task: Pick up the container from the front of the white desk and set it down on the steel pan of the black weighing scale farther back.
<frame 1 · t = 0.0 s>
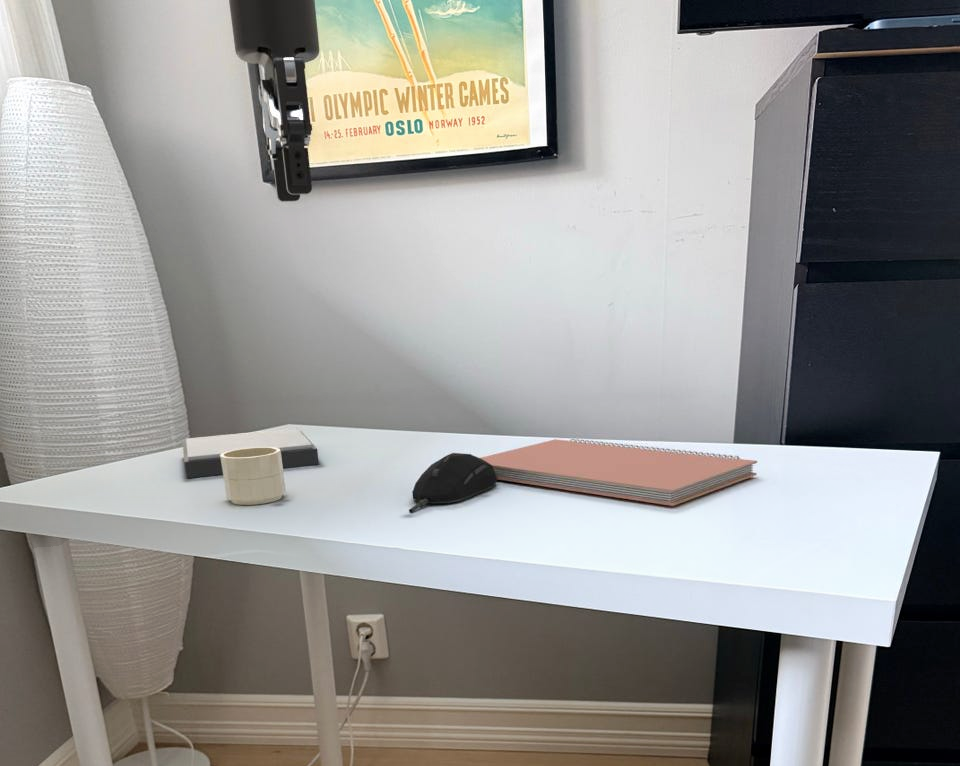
hand: (294, 197, 88), 29 cm above the table, tool pointing down, fingers open, 8 cm apart
notebook: (608, 477, 101), on the table
gaming mouse: (448, 497, 96), on the table
scale: (249, 460, 121), on the table
container: (256, 499, 99), on the table
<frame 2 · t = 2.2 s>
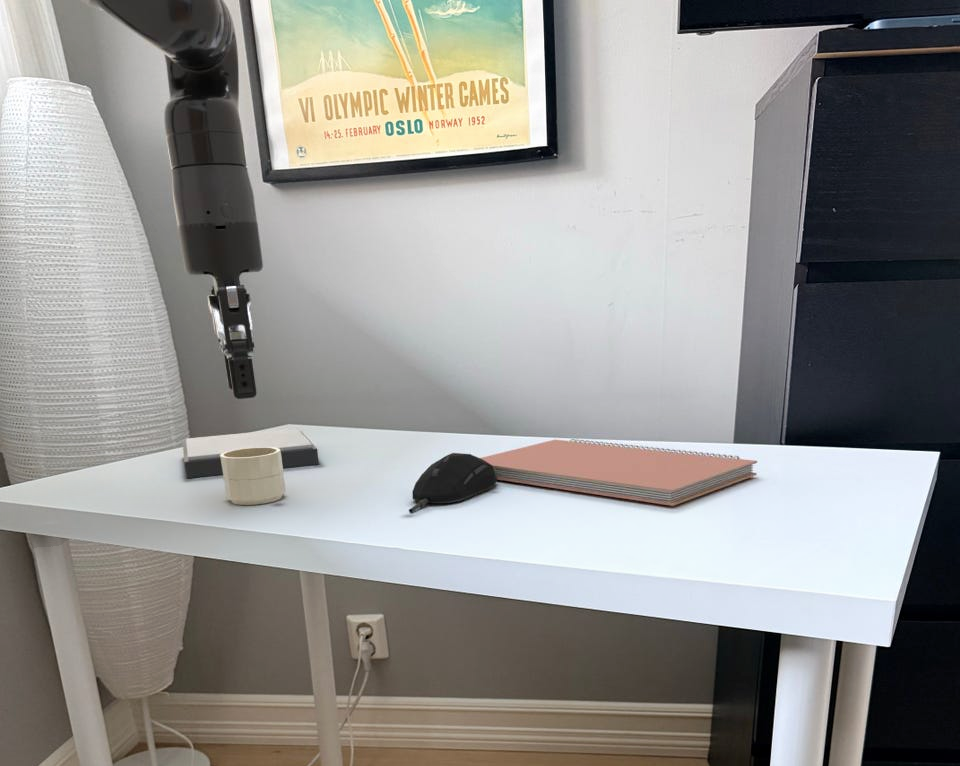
hand: (242, 393, 95), 11 cm above the table, tool pointing down, fingers open, 8 cm apart
nothing on the table moved.
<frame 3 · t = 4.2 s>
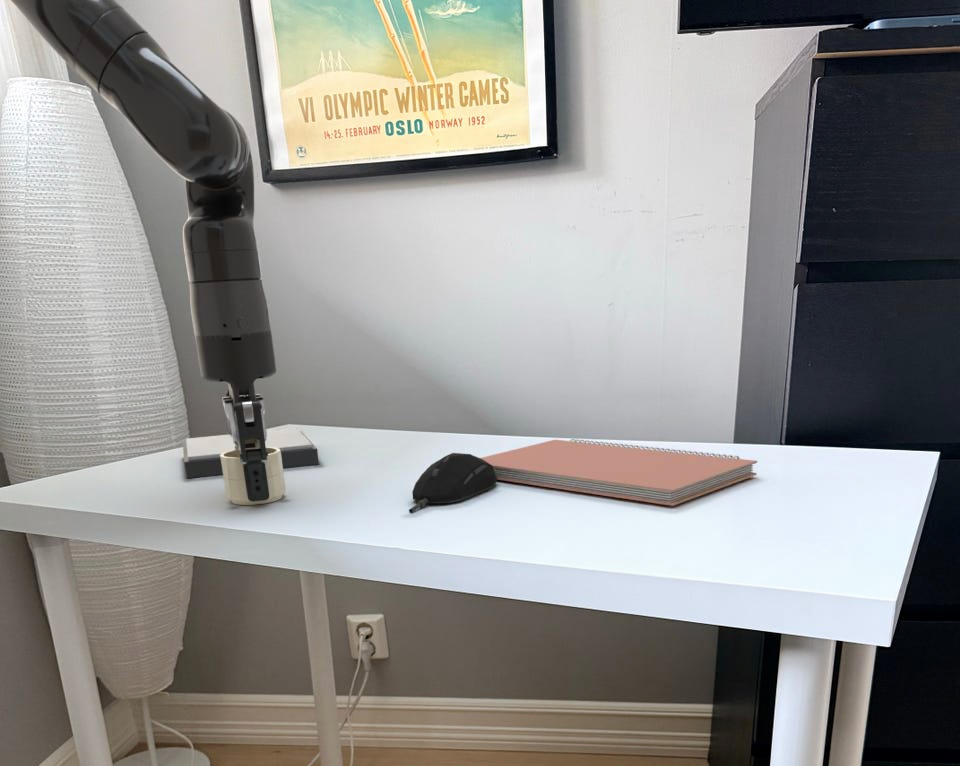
hand: (256, 493, 99), 1 cm above the table, tool pointing down, fingers closed on container, 6 cm apart
container: (256, 499, 99), on the table, touching gripper
everything else where it was.
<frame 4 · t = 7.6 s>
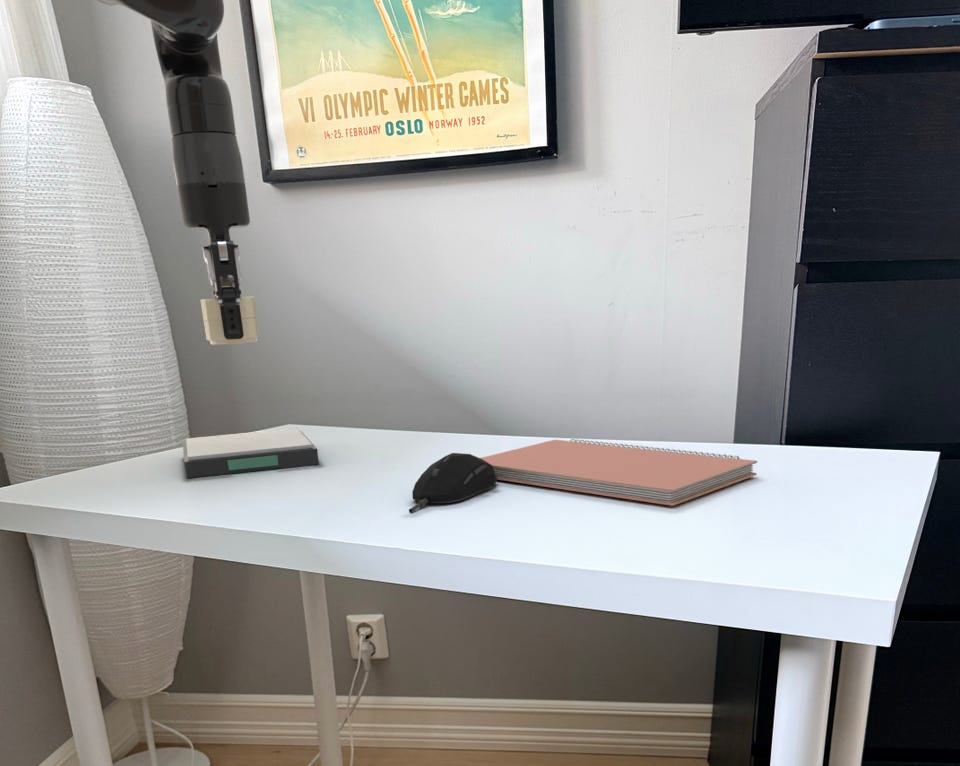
hand: (233, 336, 111), 16 cm above the table, tool pointing down, fingers closed on container, 6 cm apart
container: (234, 342, 111), point 15 cm above the table, touching gripper
everything else where it was.
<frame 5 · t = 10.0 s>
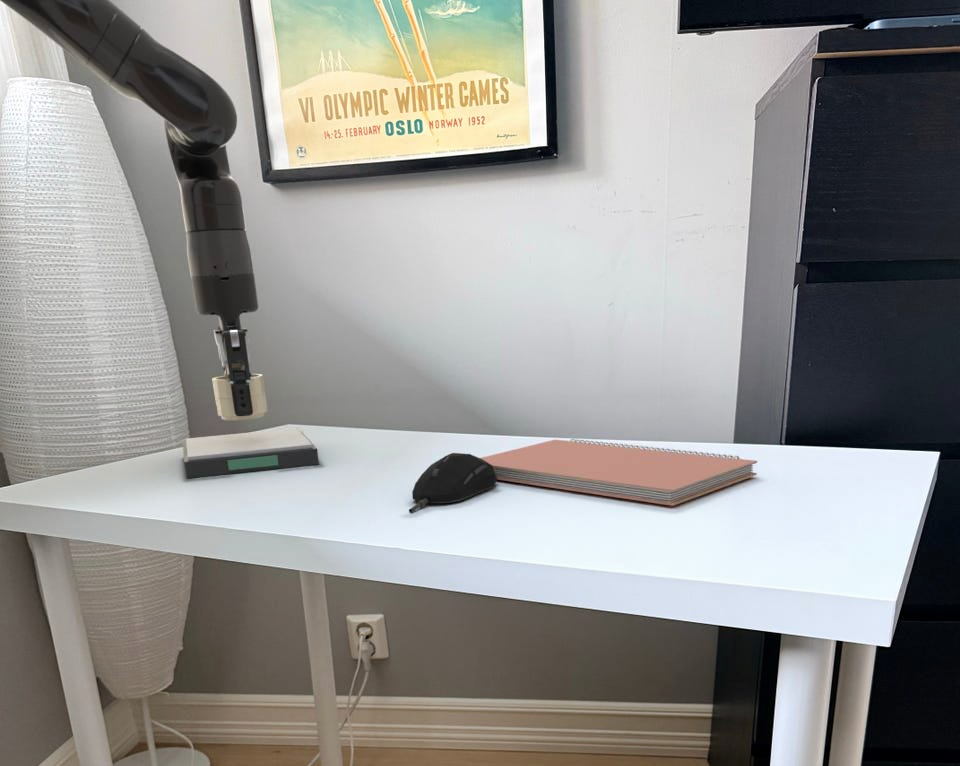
hand: (242, 411, 119), 6 cm above the table, tool pointing down, fingers closed on container, 6 cm apart
container: (243, 416, 119), point 6 cm above the table, touching gripper
everything else where it was.
when the fingers open (3 cm above the table, at t = 11.5 s): container stays where it is, resting on scale.
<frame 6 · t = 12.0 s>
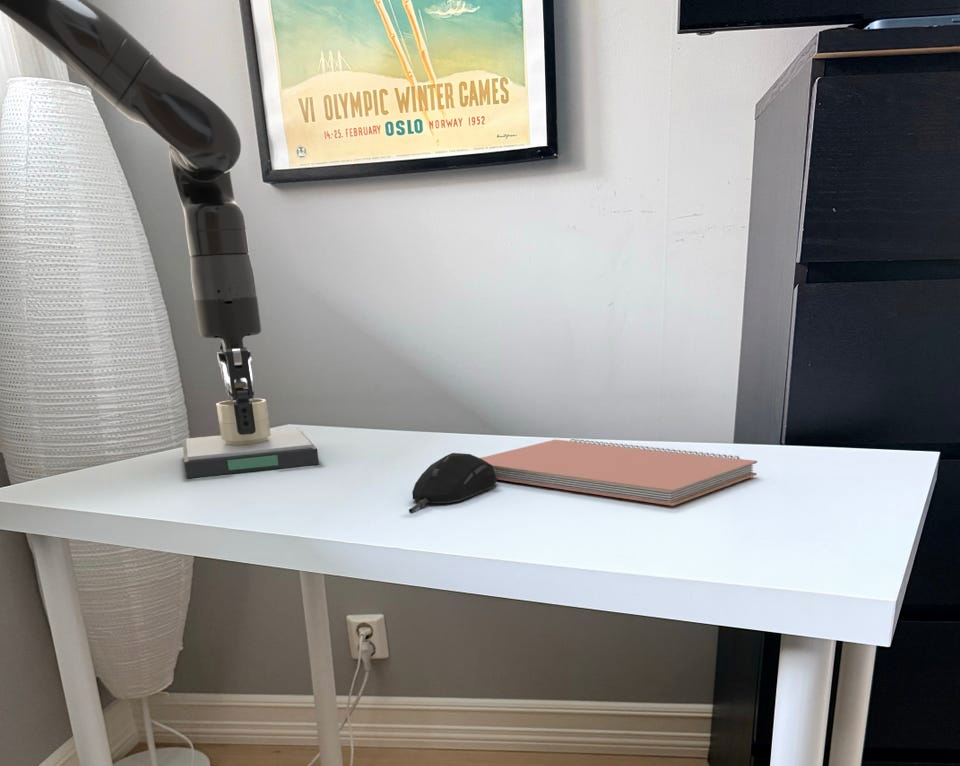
hand: (244, 429, 120), 4 cm above the table, tool pointing down, fingers open, 8 cm apart
container: (246, 441, 120), point 2 cm above the table, touching scale
everything else where it was.
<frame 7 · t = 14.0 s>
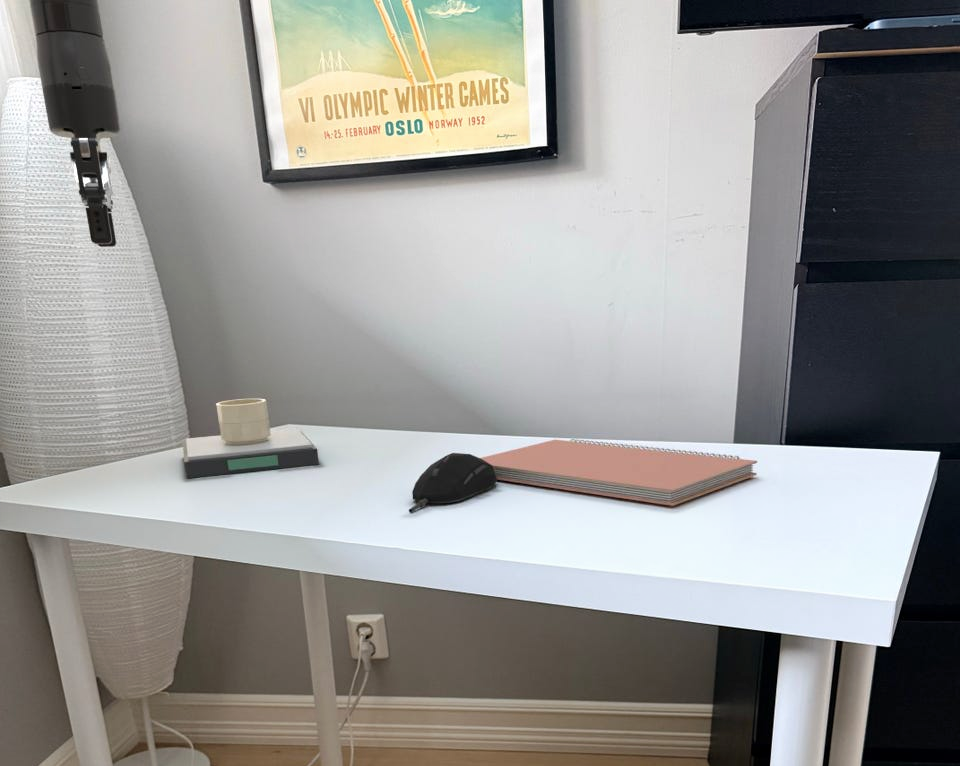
hand: (104, 245, 109), 27 cm above the table, tool pointing down, fingers open, 8 cm apart
nothing on the table moved.
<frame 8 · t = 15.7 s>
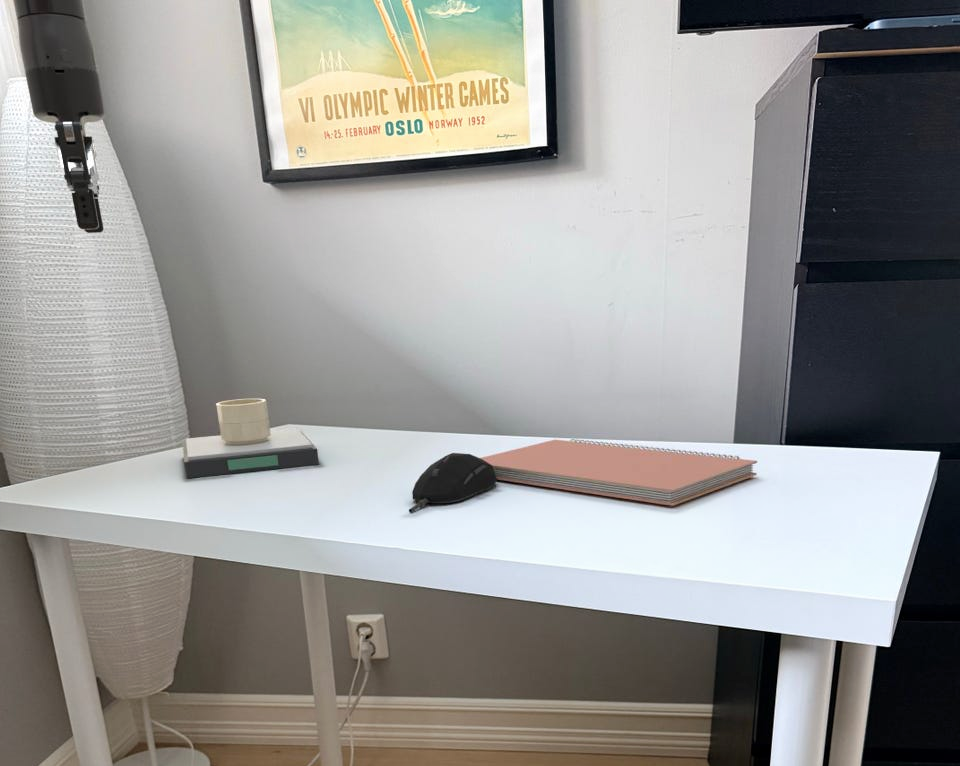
hand: (91, 230, 108), 28 cm above the table, tool pointing down, fingers open, 8 cm apart
nothing on the table moved.
at the end: container inside the target area on the scale (0.0 cm from its centre), point 2.5 cm above the scale's base; the gripper is holding nothing; container tilted 0° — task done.
